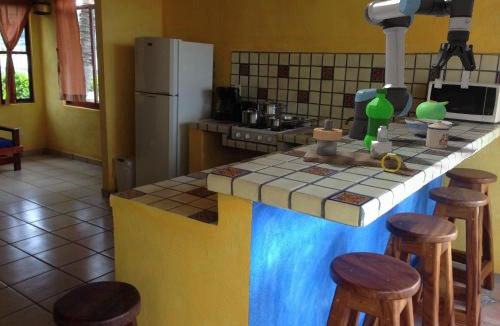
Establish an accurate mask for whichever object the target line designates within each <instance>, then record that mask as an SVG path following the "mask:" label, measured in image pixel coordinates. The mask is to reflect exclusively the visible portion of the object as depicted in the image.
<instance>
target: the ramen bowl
mask: <svg viewBox="0 0 500 326" xmlns="http://www.w3.org/2000/svg"><path fill="white" fill-rule="evenodd" d="M400 119H405V120H404V121H405V123H406V125H407V127H408V128H409V130H410V131H412V132H414V134H415V133H416V134H418V136H422V137H427V130H428V128H427V127H428V125H431V124H433V123H437V120H432V119H419V118H412V117H408V116H407V117H406V116H400ZM440 121H442V123H443V124H445V125H446V126H449V127H450V128H451V127H452V125H453V122H450V121H447V120H446V121H445V120H440Z"/></svg>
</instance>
